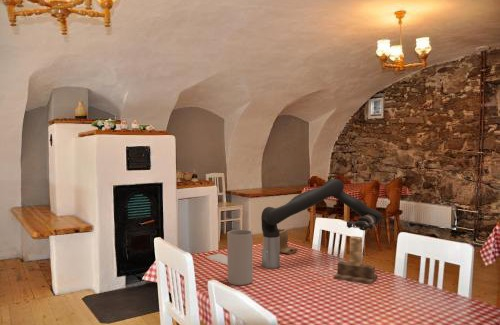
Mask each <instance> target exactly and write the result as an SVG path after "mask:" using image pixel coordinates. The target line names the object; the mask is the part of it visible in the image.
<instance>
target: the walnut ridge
mask: <svg viewBox="0 0 500 325" xmlns="http://www.w3.org/2000/svg"><path fill="white" fill-rule="evenodd" d="M336 270H337V273H335V274H334V275H333V279H335V280H338V281H339V280H340V281H347V282H353V283H359V284H364V285H365V284H366V285H372V284H373V283H374V282H375V281H376V280H377V279H378V274H375V265H367V264H362V265H360V266H351V265H349V262H346V261H338V263H337V269H336Z"/></svg>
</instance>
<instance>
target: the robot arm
mask: <svg viewBox="0 0 500 325" xmlns="http://www.w3.org/2000/svg"><path fill="white" fill-rule="evenodd" d="M344 188H345V184H344V183H343V181H342V180H341V179H338V178H334V179H332V178H331V179H330V180H326V181H325V182H324V184H323V185H322V186H319V187H317V188H313V189H310V190H306V191H304V192H302V193H300V194H299V193H298V194H297V195H295V196H294V197H292V198H291V199H290V200H289V201H288V202H287V203H284V204H283V205H280V206H279V207H273V206H266V207H265V208H264V209H263V210H262V211H261V231H262V237H263V238H262V244H263V245H262V246H263V247H262V249H261V267H263V268H265V269H278V268H280V267H281V266H280V265H281V264H280V263H281V261H280V260H281V259H280V258H281V257H280V253H281V252H280V232H279V230H278V229H279V227H278V224H280V223H282V222H283V221H284V220H286V219H288V218H289V217H291V216H294V215H296V214H298V213H301V212H303V211H305V210H307V209H309V208H311V207H313V206H315V205H317V204H319V203H320V202H322V201H325V200H326V199H328V198H331V197H332V198H334V199H336V200H338V201H339V202H341V203H343V205H345V206H347V207H348V208H350V209H351V210H352V211H354V213H356V214H357V215H359V218H358V219H357V220H356V221H355V220H353V221H352V220H348V221H346V227H347V228H348V229H351V228H353V229H359V230H360V231H363V232H364V231H367V230H369V229H370V230H373V229H375V226H377V224H379V223H380V222H381V221H382V220H383V214H382V212H380V211H379V210H376V209H374V208H371V207H370V206H368V205H366V204H365V203H363V202H362V201H361V200H360V199H358V198H357V197H354V196H352V195H350V194H348V193H347V192H345V191H344Z"/></svg>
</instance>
